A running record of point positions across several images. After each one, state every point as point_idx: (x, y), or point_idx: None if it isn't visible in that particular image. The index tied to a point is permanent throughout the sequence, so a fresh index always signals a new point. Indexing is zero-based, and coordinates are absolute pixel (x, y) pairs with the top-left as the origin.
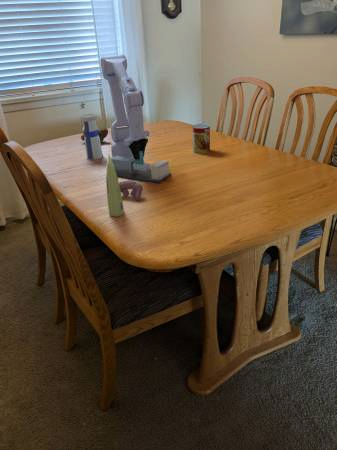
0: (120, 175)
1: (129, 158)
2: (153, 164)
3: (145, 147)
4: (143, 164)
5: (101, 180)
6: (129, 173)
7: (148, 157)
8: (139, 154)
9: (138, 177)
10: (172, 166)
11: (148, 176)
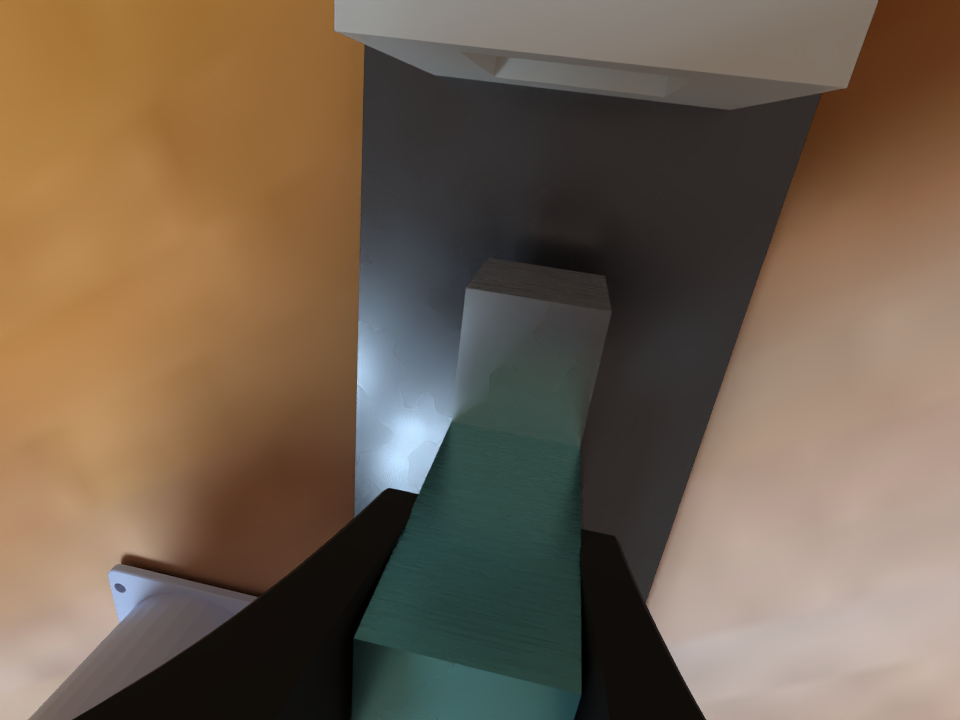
0: (647, 592)
1: None
2: (725, 48)
3: (190, 653)
4: (560, 388)
5: (763, 712)
6: None
7: (4, 494)
8: (602, 625)
9: (699, 356)
10: (52, 70)
11: (630, 219)
